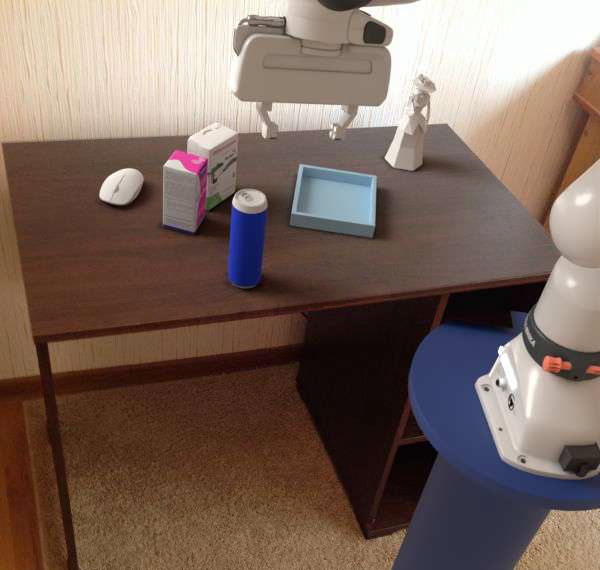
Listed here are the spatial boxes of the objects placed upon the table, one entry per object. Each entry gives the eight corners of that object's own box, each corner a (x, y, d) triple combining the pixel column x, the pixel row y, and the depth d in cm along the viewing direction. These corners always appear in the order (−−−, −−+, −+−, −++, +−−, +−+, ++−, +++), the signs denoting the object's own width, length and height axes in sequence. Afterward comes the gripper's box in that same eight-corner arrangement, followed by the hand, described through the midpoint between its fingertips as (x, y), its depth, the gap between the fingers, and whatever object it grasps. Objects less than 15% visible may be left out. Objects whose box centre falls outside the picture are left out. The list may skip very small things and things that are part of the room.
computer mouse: (94, 202, 129) (92, 187, 126) (119, 174, 135) (118, 159, 133) (126, 211, 128) (125, 196, 126) (150, 183, 135) (150, 167, 132)
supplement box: (195, 235, 126) (196, 174, 117) (161, 227, 126) (160, 165, 118) (206, 217, 130) (208, 156, 121) (174, 209, 130) (173, 148, 122)
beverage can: (266, 282, 120) (275, 200, 109) (242, 294, 117) (248, 211, 106) (245, 265, 122) (252, 183, 111) (221, 277, 119) (225, 194, 108)
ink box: (208, 212, 131) (210, 149, 122) (185, 201, 132) (185, 138, 123) (236, 191, 136) (240, 130, 127) (214, 181, 137) (216, 120, 129)
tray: (372, 238, 131) (375, 226, 129) (289, 225, 131) (291, 213, 129) (374, 187, 142) (376, 175, 141) (298, 175, 142) (299, 163, 140)
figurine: (399, 173, 147) (421, 83, 134) (378, 152, 152) (397, 63, 138) (429, 168, 150) (453, 79, 137) (407, 148, 154) (428, 60, 141)
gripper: (243, 18, 82) (233, 145, 90) (405, 32, 90) (383, 147, 98) (226, 7, 87) (218, 129, 95) (382, 21, 95) (362, 132, 103)
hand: (303, 138), depth 97 cm, fingers open, 8 cm apart
